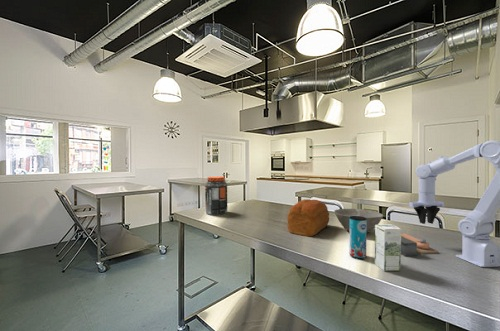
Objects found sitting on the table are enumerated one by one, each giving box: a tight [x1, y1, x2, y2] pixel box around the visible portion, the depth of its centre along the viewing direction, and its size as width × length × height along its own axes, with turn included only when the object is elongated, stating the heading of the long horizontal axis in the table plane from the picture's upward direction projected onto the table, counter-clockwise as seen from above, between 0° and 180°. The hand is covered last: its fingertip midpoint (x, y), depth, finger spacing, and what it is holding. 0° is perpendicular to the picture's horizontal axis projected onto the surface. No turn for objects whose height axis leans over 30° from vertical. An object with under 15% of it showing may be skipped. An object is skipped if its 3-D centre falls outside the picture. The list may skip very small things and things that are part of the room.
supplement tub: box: [204, 176, 228, 216], centre depth 167 cm, size 16×16×26 cm
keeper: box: [401, 237, 418, 257], centre depth 94 cm, size 8×5×5 cm, turn 4°
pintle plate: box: [417, 246, 439, 255], centre depth 96 cm, size 7×7×1 cm
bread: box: [286, 199, 330, 237], centre depth 127 cm, size 16×27×16 cm, turn 145°
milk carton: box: [374, 223, 402, 272], centre depth 80 cm, size 6×6×14 cm
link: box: [401, 233, 430, 249], centre depth 101 cm, size 14×4×3 cm, turn 4°
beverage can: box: [349, 216, 368, 260], centre depth 90 cm, size 6×6×15 cm
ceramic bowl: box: [333, 208, 384, 233], centre depth 122 cm, size 22×23×10 cm
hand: (426, 223), depth 102 cm, fingers open, 3 cm apart
